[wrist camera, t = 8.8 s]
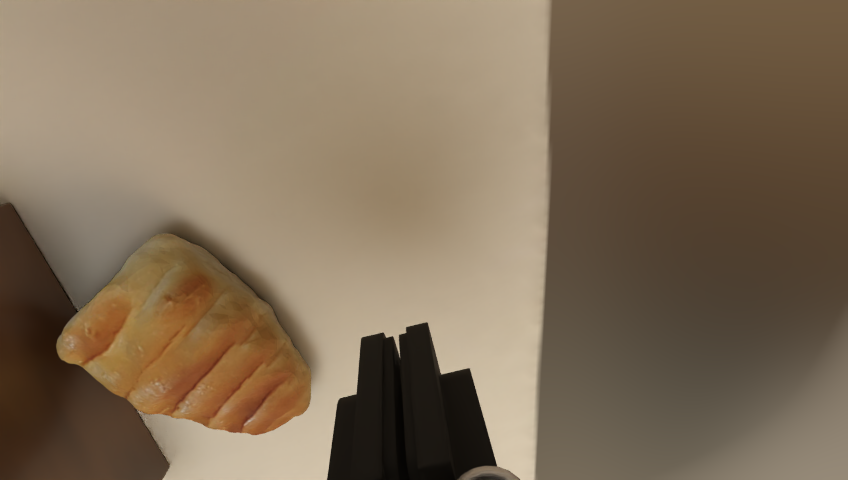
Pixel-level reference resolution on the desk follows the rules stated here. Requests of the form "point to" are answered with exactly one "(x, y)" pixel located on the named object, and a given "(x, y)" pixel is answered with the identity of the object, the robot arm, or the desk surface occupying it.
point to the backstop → (56, 384)
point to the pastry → (189, 342)
